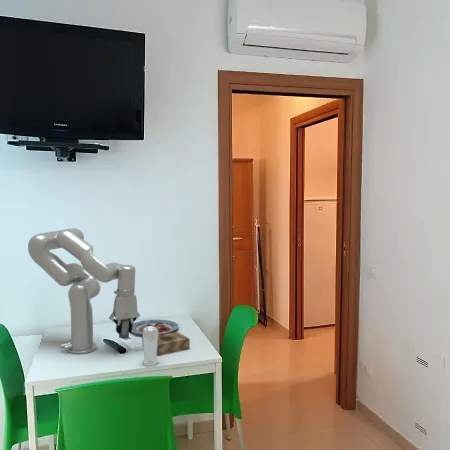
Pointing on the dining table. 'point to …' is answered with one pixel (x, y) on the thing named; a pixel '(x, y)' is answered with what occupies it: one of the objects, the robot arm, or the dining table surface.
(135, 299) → the robot arm
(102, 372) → the dining table surface
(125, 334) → the grey cylinder
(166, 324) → the ceramic plate
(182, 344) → the block
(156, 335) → the beer glass
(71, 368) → the dining table surface
